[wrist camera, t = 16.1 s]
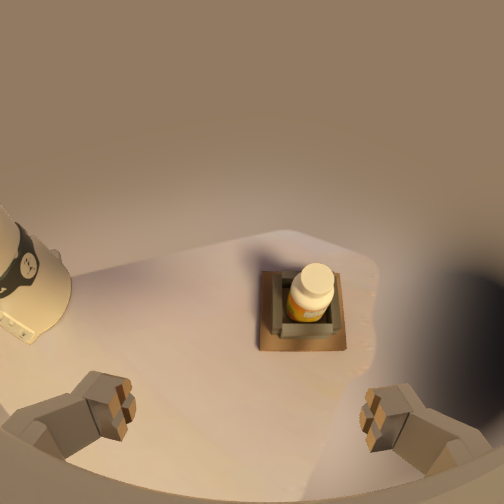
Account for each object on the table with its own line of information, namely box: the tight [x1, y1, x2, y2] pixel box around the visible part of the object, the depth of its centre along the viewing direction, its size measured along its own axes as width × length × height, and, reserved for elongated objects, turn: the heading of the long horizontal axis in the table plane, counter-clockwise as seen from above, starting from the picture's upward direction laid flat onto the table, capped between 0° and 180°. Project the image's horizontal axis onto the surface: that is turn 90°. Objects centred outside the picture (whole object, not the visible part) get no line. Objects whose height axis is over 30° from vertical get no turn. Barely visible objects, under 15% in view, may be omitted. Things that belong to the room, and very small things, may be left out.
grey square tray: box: [260, 271, 347, 351], centre depth 40 cm, size 12×12×4 cm
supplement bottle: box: [286, 263, 334, 324], centre depth 37 cm, size 5×5×10 cm
